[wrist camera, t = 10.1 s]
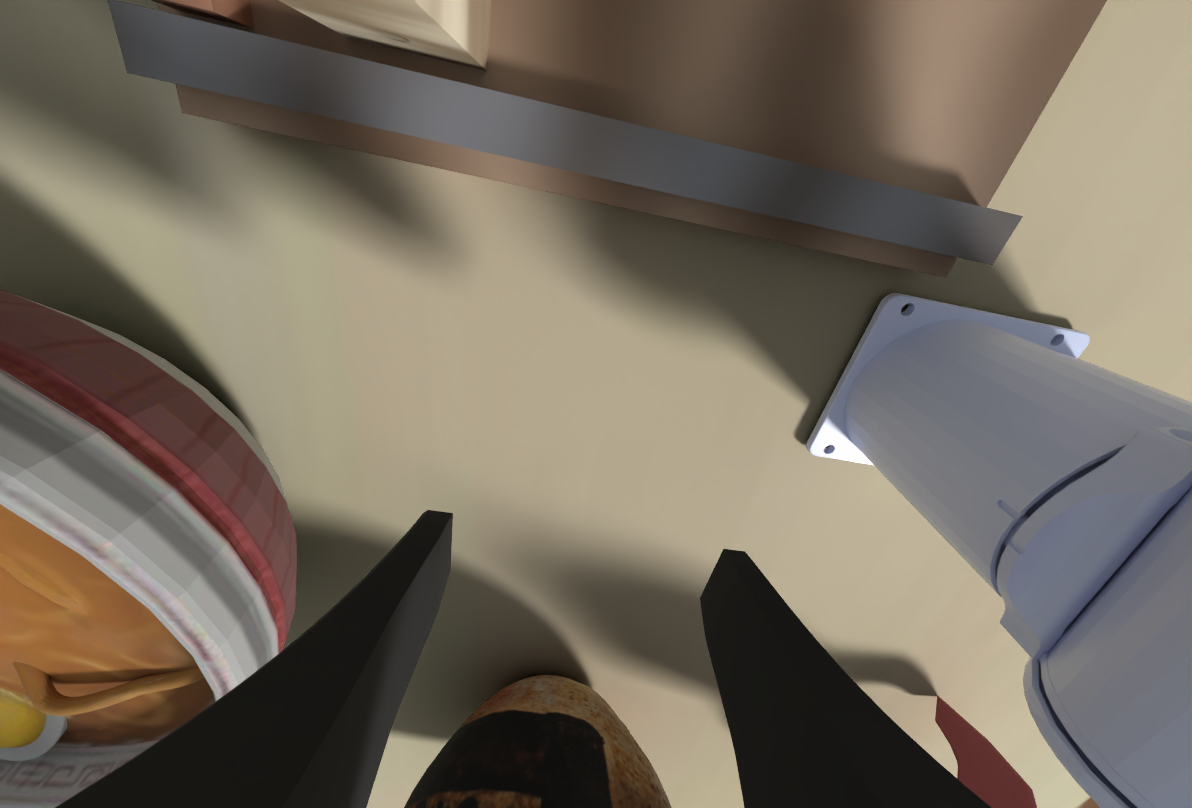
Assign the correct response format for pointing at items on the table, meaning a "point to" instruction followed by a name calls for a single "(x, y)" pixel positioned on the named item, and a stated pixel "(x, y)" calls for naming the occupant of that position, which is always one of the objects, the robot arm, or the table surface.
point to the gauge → (411, 25)
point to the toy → (982, 763)
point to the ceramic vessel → (541, 754)
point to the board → (670, 105)
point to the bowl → (122, 552)
